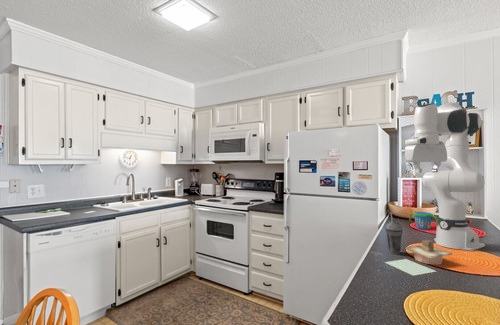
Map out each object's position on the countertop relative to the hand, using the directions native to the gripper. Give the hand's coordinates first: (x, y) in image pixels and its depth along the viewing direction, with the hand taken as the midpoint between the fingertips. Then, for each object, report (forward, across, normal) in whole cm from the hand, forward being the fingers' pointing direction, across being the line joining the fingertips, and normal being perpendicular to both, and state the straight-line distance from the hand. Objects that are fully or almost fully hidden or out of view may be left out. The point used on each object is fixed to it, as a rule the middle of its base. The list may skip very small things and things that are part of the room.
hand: (426, 172), depth 111 cm
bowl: (+39, -2, -2) cm, 39 cm away
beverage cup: (+39, +4, -14) cm, 42 cm away
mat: (+39, +12, +1) cm, 41 cm away
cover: (+35, -2, -2) cm, 35 cm away
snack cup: (+39, -52, -45) cm, 79 cm away
